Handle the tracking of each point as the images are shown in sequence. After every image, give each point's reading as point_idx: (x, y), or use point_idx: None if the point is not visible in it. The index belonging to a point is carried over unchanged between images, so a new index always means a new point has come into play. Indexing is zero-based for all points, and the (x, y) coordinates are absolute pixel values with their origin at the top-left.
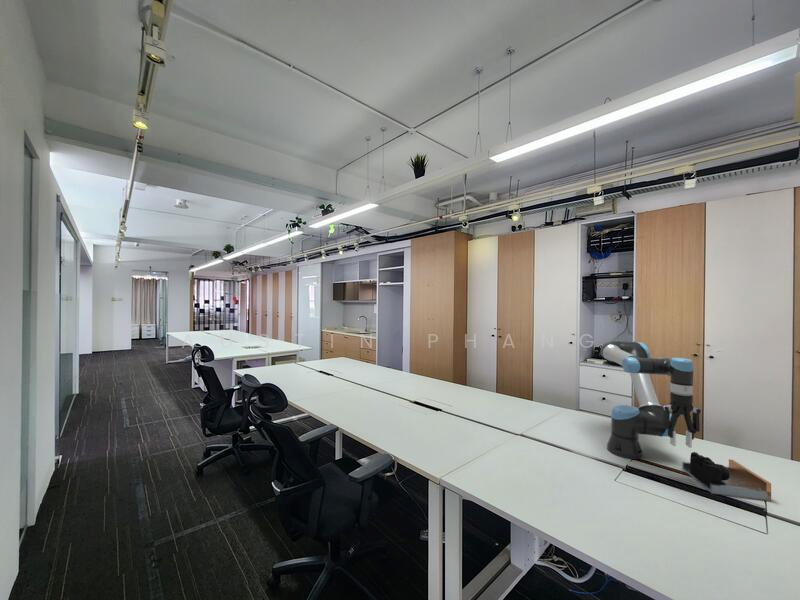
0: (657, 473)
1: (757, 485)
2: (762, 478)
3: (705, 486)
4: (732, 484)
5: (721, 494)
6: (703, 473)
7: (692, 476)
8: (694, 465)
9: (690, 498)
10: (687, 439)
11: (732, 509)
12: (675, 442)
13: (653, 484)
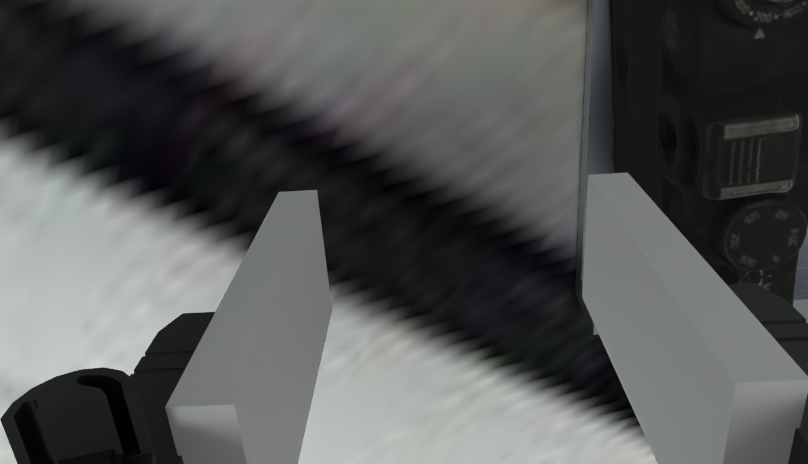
0: (240, 39)
1: None
2: None
3: (582, 220)
4: None
5: None
6: (641, 184)
7: (590, 18)
8: (648, 41)
9: (351, 408)
10: (629, 302)
11: (574, 460)
12: (318, 355)
13: (136, 285)
